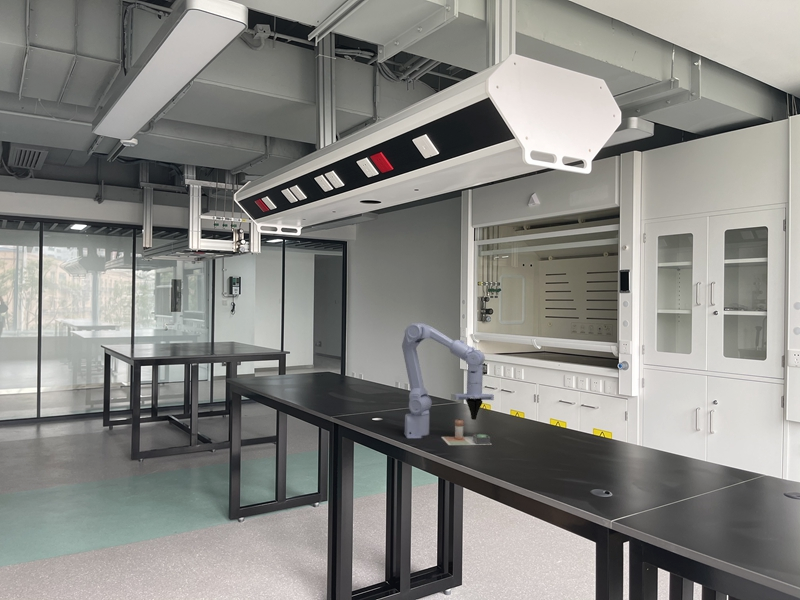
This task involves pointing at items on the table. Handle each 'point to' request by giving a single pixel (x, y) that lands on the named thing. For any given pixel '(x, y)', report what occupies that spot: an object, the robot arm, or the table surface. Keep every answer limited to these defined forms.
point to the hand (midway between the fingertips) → (473, 419)
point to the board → (461, 441)
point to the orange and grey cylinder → (459, 429)
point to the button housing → (481, 439)
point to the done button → (481, 435)
